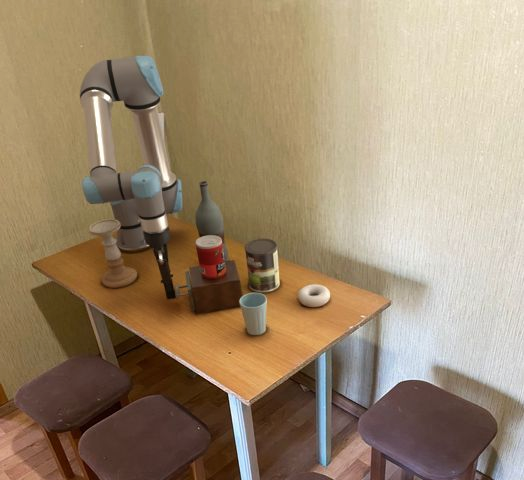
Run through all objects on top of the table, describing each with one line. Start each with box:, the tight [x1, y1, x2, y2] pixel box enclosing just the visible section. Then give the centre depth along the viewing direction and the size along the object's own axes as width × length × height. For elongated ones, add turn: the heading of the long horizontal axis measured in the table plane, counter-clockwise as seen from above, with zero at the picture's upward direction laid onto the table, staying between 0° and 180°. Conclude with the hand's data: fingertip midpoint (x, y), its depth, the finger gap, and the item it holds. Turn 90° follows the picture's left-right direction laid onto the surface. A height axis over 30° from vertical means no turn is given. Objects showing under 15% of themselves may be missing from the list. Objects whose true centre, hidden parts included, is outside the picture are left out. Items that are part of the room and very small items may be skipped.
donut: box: [297, 283, 331, 308], centre depth 163 cm, size 10×4×10 cm
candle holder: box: [88, 218, 138, 289], centre depth 178 cm, size 12×12×20 cm
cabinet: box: [188, 259, 243, 315], centre depth 166 cm, size 15×13×10 cm
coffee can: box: [244, 238, 281, 294], centre depth 169 cm, size 10×10×14 cm
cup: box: [239, 292, 268, 336], centre depth 151 cm, size 8×8×10 cm
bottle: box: [194, 180, 229, 261], centre depth 177 cm, size 9×9×30 cm
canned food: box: [195, 235, 226, 279], centre depth 159 cm, size 8×8×11 cm
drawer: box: [174, 270, 197, 312], centre depth 165 cm, size 18×11×8 cm, turn 100°
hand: (171, 297), depth 165 cm, fingers closed
